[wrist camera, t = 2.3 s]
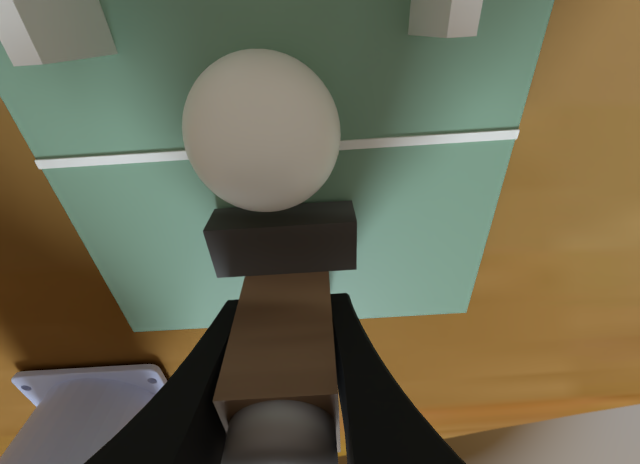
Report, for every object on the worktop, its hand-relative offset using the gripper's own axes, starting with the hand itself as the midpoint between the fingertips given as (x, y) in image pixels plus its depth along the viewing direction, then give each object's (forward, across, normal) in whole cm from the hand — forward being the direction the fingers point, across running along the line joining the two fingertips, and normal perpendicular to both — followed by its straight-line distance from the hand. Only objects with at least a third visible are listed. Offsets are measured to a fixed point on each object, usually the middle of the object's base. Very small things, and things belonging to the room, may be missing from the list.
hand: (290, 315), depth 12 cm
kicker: (+2, 0, -1) cm, 2 cm away
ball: (0, 0, -6) cm, 7 cm away
